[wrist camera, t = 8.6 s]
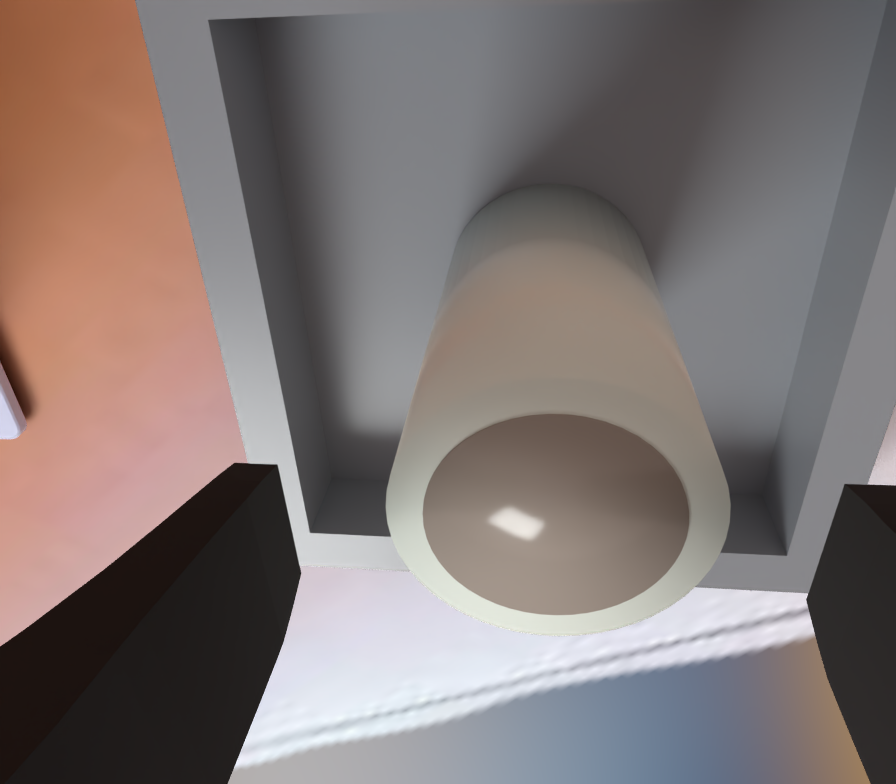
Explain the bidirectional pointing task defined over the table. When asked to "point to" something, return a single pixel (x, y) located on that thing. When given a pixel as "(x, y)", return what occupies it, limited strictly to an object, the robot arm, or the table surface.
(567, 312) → the cup
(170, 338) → the table surface
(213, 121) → the tray
